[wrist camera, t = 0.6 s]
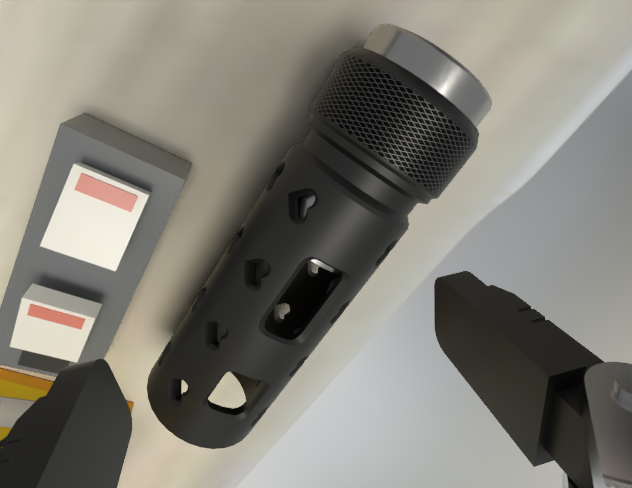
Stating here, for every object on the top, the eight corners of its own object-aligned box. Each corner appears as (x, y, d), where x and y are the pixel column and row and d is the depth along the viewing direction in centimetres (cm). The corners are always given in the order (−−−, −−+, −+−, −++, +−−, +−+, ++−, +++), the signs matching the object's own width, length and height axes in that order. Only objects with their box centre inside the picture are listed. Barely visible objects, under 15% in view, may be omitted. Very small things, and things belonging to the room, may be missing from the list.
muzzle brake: (156, 329, 33) (128, 436, 24) (343, 19, 25) (407, 2, 16) (253, 363, 36) (261, 466, 27) (441, 103, 29) (538, 128, 20)
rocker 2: (32, 283, 23) (21, 298, 22) (102, 304, 25) (94, 319, 24) (19, 332, 25) (8, 348, 24) (84, 348, 27) (76, 364, 26)
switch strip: (85, 113, 24) (57, 125, 20) (191, 163, 27) (185, 182, 23) (12, 324, 30) (-21, 365, 26) (106, 348, 32) (90, 388, 28)
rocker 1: (79, 162, 21) (73, 163, 20) (151, 192, 23) (148, 195, 22) (47, 240, 22) (39, 246, 21) (119, 265, 24) (115, 271, 22)
